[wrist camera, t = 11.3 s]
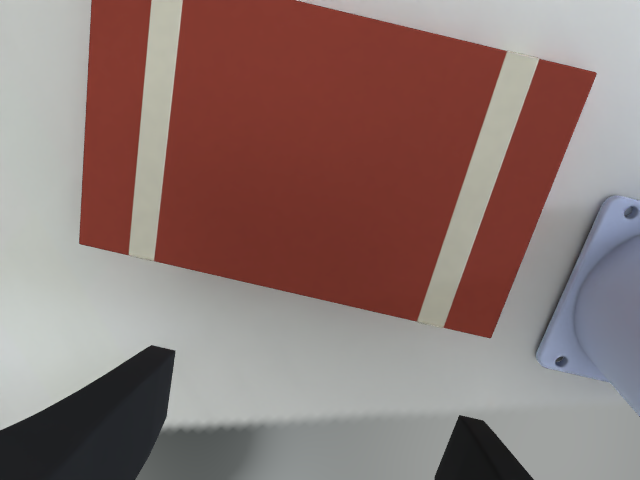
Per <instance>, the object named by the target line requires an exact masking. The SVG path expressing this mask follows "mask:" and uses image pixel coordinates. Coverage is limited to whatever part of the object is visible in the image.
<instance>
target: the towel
mask: <svg viewBox="0 0 640 480" xmlns="http://www.w3.org/2000/svg"><path fill="white" fill-rule="evenodd" d="M596 74H597V73H596V72H592V71H588V70H584V69H579V68H575V67H571V66H567V65H563V64H559V63H554V62H550V61H546V60H542V59H539V58H537V57H532V56H528V55H524V54H520V53H516V52H511V51H504V50H500V49H496V48H492V47H488V46H483V45H479V44H475V43H471V42H467V41H463V40H458V39H454V38H450V37H446V36H442V35H438V34H433V33H429V32H425V31H421V30H417V29H412V28H408V27H404V26H400V25H396V24H392V23H387V22H383V21H379V20H375V19H371V18H367V17H362V16H358V15H354V14H350V13H346V12H342V11H337V10H333V9H329V8H325V7H321V6H316V5H312V4H308V3H304V2H300V1H296V0H92V4H91V24H90V43H89V63H88V82H87V102H86V121H85V141H84V160H83V180H82V199H81V219H80V238H79V244H82V245H86V246H91V247H95V248H99V249H104V250H108V251H112V252H117V253H121V254H125V255H129V256H133V257H137V258H142V259H146V260H150V261H156V262H160V263H165V264H169V265H173V266H178V267H182V268H186V269H191V270H195V271H199V272H204V273H208V274H212V275H217V276H221V277H225V278H230V279H234V280H239V281H243V282H247V283H252V284H256V285H260V286H265V287H269V288H273V289H278V290H282V291H286V292H291V293H295V294H299V295H304V296H308V297H313V298H317V299H321V300H326V301H330V302H334V303H339V304H343V305H347V306H352V307H356V308H360V309H365V310H369V311H373V312H378V313H382V314H386V315H391V316H395V317H400V318H404V319H408V320H413V321H417V322H419V323H423V324H427V325H432V326H436V327H440V328H447V329H452V330H456V331H460V332H465V333H469V334H474V335H478V336H482V337H487V338H491V337H492V334H493V332H494V329H495V327H496V324H497V322H498V319H499V317H500V314H501V312H502V309H503V307H504V304H505V302H506V299H507V297H508V294H509V292H510V289H511V287H512V284H513V282H514V279H515V277H516V274H517V272H518V269H519V267H520V264H521V262H522V259H523V257H524V254H525V252H526V249H527V247H528V244H529V242H530V239H531V237H532V234H533V232H534V229H535V227H536V224H537V222H538V219H539V217H540V214H541V212H542V209H543V207H544V204H545V202H546V199H547V197H548V194H549V192H550V189H551V187H552V184H553V182H554V179H555V177H556V174H557V172H558V169H559V167H560V164H561V162H562V159H563V157H564V154H565V152H566V149H567V147H568V144H569V142H570V139H571V137H572V134H573V132H574V129H575V127H576V124H577V122H578V119H579V117H580V114H581V112H582V109H583V107H584V104H585V102H586V99H587V97H588V94H589V92H590V89H591V87H592V84H593V82H594V79H595V77H596Z"/></svg>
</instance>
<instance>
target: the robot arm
mask: <svg viewBox="0 0 640 480" xmlns="http://www.w3.org/2000/svg"><path fill="white" fill-rule="evenodd" d="M630 206H632V208H633V209H632V212H631V214H630V215H628V216H624V212H625V210H626V209H627V208H628V207H630ZM559 357H564V358H563V359H562V360H561V361H559V362H555V361H556V359H557V358H559ZM174 358H175V351H174V350H170V349H165V348H161V347H157V346H152V345H151V346H149V347H148V348H146V349H144V350H143V351H141V352H139V353H138V354H136V355H135V356H133V357H132V358H130V359H129V360H127V361H126V362H124V363H122V364H121V365H119V366H118V367H116V368H115V369H113V370H112V371H110V372H108V373H107V374H105V375H104V376H102V377H100V378H99V379H97V380H95V381H94V382H92V383H90V384H89V385H87V386H86V387H84V388H82V389H81V390H79V391H77V392H75V393H74V394H72V395H70V396H68V397H66V398H65V399H63V400H61V401H59V402H57V403H55V404H54V405H52V406H50V407H48V408H46V409H45V410H43V411H41V412H39V413H37V414H35V415H33V416H31V417H29V418H27V419H25V420H22V421H20V422H18V423H16V424H14V425H12V426H9V427H7V428H5V429H3V430H0V480H135V479H136V477H137V475H138V474H139V472H140V470H141V469H142V467H143V465H144V464H145V462H146V460H147V458H148V457H149V455H150V453H151V450H152V448H153V446H154V444H155V442H156V440H157V437H158V435H159V433H160V431H161V428H162V426H163V424H164V421H165V419H166V416H167V409H168V402H169V394H170V387H171V380H172V373H173V365H174ZM536 358H537V360H538V362H539V363H540V364H541V366H543V367H545V368H549V369H553V370H558V371H562V372H566V373H571V374H575V375H579V376H584V377H588V378H592V379H597V380H601V381H606V382H610V383H611V384H612V385H613V386H614V388H615V389H616V390H617V391H618V392H619V393H620V395H621V396H622V397H623V398H624V399H625V400H626V402H627V403H628V404H629V405H630V406H631V407H632V408H633V409H634V411H635V412H636V413H637V414H638V415H639V417H640V200H636V199H632V198H627V197H623V196H615V195H614V196H611V197H609V198H608V199H606V200H605V201H604V203H603V204H602V206H601V208H600V210H599V213H598V215H597V217H596V219H595V222H594V224H593V226H592V228H591V231H590V233H589V235H588V238H587V240H586V242H585V244H584V247H583V249H582V251H581V253H580V256H579V258H578V260H577V262H576V265H575V267H574V269H573V271H572V274H571V276H570V278H569V280H568V283H567V285H566V287H565V289H564V292H563V294H562V296H561V298H560V301H559V303H558V305H557V307H556V310H555V312H554V314H553V316H552V319H551V321H550V323H549V325H548V328H547V330H546V332H545V334H544V337H543V339H542V341H541V344H540V346H539V348H538V350H537V353H536ZM435 480H534V479H533V478H532V477H531V476H530V475H529V474H528V472H527V471H526V470H525V469H524V468H523V466H522V465H521V464H520V463H519V462H518V461H517V459H516V458H515V457H514V456H513V454H512V453H511V452H510V451H509V450H508V449H507V447H506V446H505V445H504V444H503V443H502V442H501V440H500V439H499V438H498V437H497V435H496V434H495V433H494V432H493V431H492V430H491V429H490V427H489V426H488V425H487V424H486V423H485V422H484V421H483V420H478V419H474V418H470V417H465V416H461V415H459V417H458V420H457V422H456V425H455V427H454V430H453V432H452V435H451V438H450V440H449V442H448V445H447V448H446V450H445V452H444V455H443V457H442V460H441V462H440V465H439V467H438V470H437V473H436V475H435Z"/></svg>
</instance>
